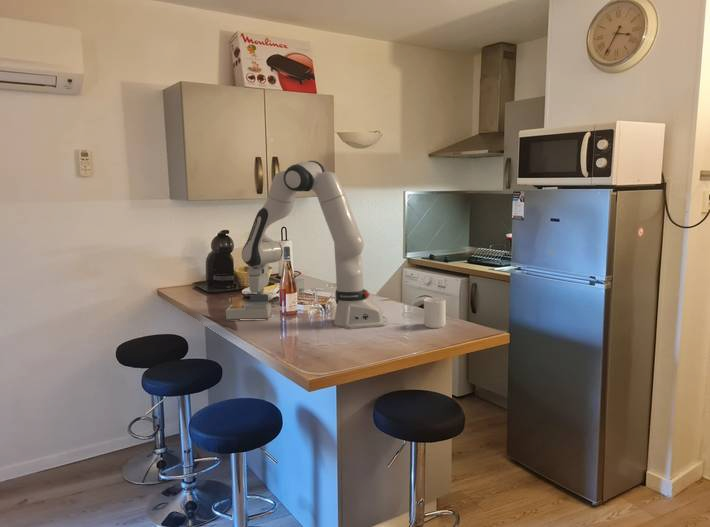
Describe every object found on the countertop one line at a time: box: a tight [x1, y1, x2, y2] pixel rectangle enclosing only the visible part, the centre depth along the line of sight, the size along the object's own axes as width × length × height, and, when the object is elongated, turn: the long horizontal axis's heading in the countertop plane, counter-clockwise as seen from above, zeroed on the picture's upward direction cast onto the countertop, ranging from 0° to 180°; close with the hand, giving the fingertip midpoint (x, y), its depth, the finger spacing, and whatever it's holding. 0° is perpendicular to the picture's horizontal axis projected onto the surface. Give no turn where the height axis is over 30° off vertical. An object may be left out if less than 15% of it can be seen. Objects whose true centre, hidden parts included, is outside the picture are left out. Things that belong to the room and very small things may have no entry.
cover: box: [247, 294, 270, 306], centre depth 240 cm, size 8×10×4 cm
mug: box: [423, 297, 447, 329], centre depth 219 cm, size 9×12×11 cm
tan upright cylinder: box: [231, 296, 243, 308], centre depth 240 cm, size 4×4×8 cm
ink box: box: [294, 278, 305, 294], centre depth 267 cm, size 9×9×12 cm
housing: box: [225, 302, 272, 321], centre depth 240 cm, size 18×11×6 cm, turn 91°
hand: (260, 298), depth 247 cm, fingers closed
